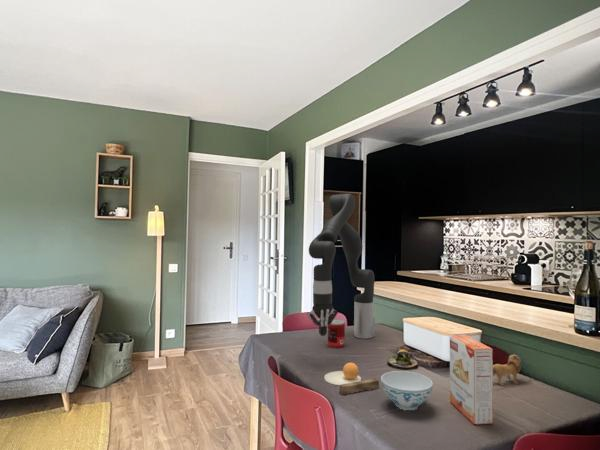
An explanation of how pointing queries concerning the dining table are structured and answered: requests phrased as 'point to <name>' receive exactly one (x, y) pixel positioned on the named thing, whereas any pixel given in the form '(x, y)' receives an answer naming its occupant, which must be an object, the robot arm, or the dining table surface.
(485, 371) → the cracker box
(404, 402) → the chinaware
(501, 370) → the lion figurine
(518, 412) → the dining table surface
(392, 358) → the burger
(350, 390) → the strip
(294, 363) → the dining table surface
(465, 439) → the dining table surface
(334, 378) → the disc
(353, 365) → the ball
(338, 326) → the canned food
